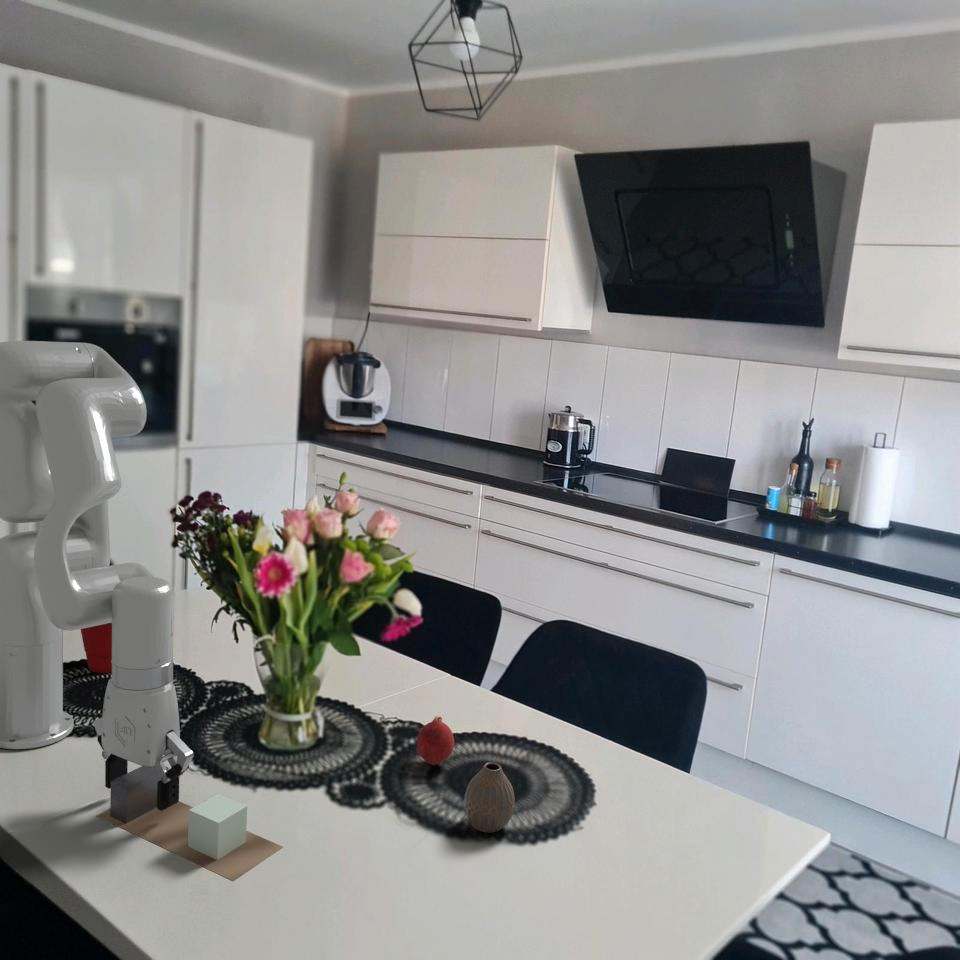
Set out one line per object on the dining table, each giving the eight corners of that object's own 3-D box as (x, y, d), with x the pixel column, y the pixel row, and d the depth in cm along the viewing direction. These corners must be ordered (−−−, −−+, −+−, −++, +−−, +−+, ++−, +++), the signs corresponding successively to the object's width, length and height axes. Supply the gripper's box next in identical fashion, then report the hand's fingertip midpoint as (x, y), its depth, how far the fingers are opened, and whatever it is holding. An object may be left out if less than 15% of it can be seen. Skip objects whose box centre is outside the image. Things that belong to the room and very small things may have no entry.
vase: (518, 819, 134) (523, 761, 133) (503, 843, 128) (509, 783, 126) (472, 807, 136) (477, 750, 135) (455, 830, 130) (460, 771, 128)
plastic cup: (70, 658, 176) (71, 596, 174) (132, 654, 181) (133, 593, 179) (73, 681, 167) (73, 616, 165) (138, 676, 171) (139, 612, 169)
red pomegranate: (447, 776, 145) (451, 727, 143) (410, 770, 146) (414, 721, 144) (455, 759, 150) (460, 712, 149) (420, 753, 151) (424, 706, 150)
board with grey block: (96, 819, 125) (96, 780, 124) (149, 791, 133) (150, 755, 132) (233, 884, 114) (234, 842, 113) (283, 850, 122) (285, 810, 121)
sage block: (187, 846, 120) (189, 809, 119) (216, 829, 125) (218, 793, 124) (217, 860, 118) (218, 823, 117) (245, 842, 122) (247, 806, 121)
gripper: (73, 665, 125) (74, 787, 128) (168, 698, 117) (166, 827, 120) (119, 650, 132) (119, 766, 134) (213, 680, 123) (210, 803, 126)
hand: (141, 794), depth 127 cm, fingers open, 9 cm apart
